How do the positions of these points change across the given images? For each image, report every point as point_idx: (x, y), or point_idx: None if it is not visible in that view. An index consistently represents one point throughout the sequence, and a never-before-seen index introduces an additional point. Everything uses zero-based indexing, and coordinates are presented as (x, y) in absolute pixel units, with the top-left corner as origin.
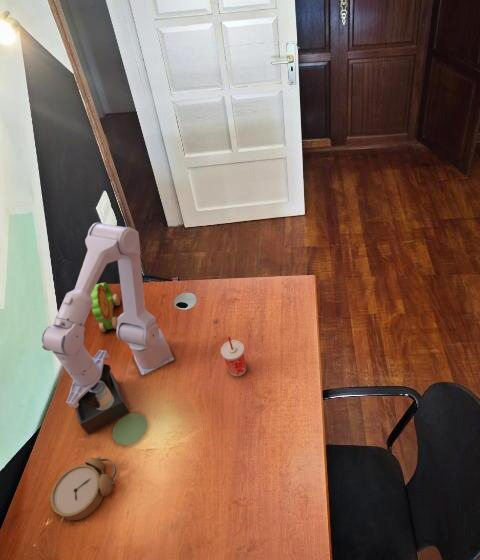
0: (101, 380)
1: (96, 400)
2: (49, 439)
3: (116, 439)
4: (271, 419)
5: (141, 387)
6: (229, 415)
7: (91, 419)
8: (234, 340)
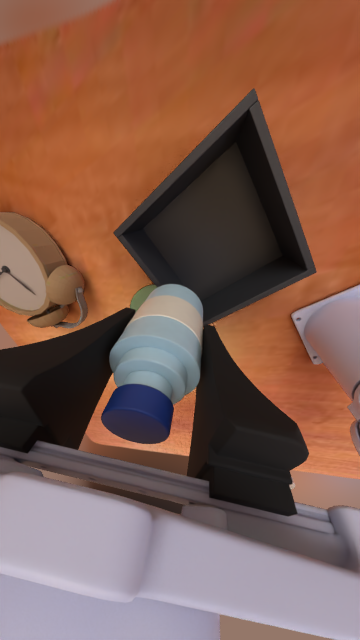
0: (202, 380)
1: (108, 374)
2: (97, 71)
3: (137, 297)
4: (186, 437)
5: (257, 315)
6: (191, 414)
7: (138, 261)
8: (292, 487)
